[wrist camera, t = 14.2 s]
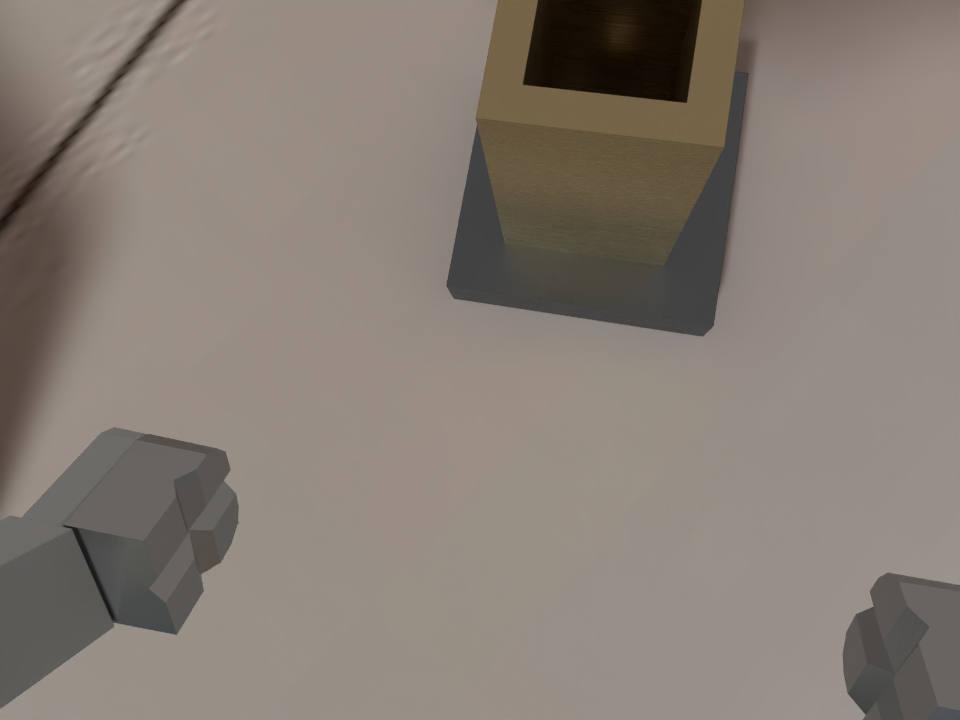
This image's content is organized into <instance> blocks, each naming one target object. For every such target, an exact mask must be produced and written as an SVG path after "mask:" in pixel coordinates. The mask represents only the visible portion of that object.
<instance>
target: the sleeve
mask: <svg viewBox="0 0 960 720" xmlns="http://www.w3.org/2000/svg"><path fill="white" fill-rule="evenodd" d="M744 1H745V0H498V4H497V9H496V14H495V19H494V25H493V30H492V35H491V41H490V46H489V51H488V56H487V62H486V67H485V72H484V77H483V83H482V88H481V93H480V98H479V104H478V109H477V114H476V121H477V125H478V129H479V134H480V138H481V143H482V147H483V151H484V156H485V160H486V164H487V169H488V173H489V177H490V182H491V186H492V190H493V195H494V199H495V203H496V208H497V212H498V216H499V221H500V225H501V229H502V234H503V238H504V242H505V244H510V245H517V246H524V247H531V248H539V249H546V250H553V251H560V252H567V253H574V254H581V255H588V256H595V257H603V258H610V259H617V260H624V261H631V262H638V263H645V264H652V265H660V266H664V264H665V262H666V260H667V258H668V256H669V254H670V252H671V251H672V249H673V247H674V245H675V243H676V241H677V239H678V237H679V235H680V233H681V231H682V229H683V227H684V225H685V223H686V221H687V219H688V217H689V215H690V213H691V211H692V209H693V207H694V205H695V203H696V201H697V199H698V197H699V195H700V194H701V192H702V190H703V188H704V186H705V184H706V182H707V180H708V178H709V176H710V174H711V172H712V170H713V168H714V166H715V164H716V162H717V160H718V158H719V156H720V154H721V152H722V150H723V148H724V144H725V137H726V130H727V123H728V116H729V108H730V101H731V94H732V87H733V80H734V73H735V66H736V58H737V51H738V44H739V37H740V30H741V23H742V16H743V8H744Z"/></svg>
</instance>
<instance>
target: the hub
mask: <svg viewBox="0 0 960 720" xmlns="http://www.w3.org/2000/svg"><path fill="white" fill-rule="evenodd" d="M747 80H748V73H744V72H735V73H734V80H733V87H732V94H731V101H730V108H729V116H728V123H727V130H726V137H725V144H724V148H723V150H722V152H721V154H720V156H719V158H718V160H717V162H716V164H715V166H714V168H713V170H712V172H711V174H710V176H709V178H708V180H707V182H706V184H705V186H704V188H703V190H702V192H701V194H700V195H699V197H698V199H697V201H696V203H695V205H694V207H693V209H692V211H691V213H690V215H689V217H688V219H687V221H686V223H685V225H684V227H683V229H682V231H681V233H680V235H679V237H678V239H677V241H676V243H675V245H674V247H673V249H672V251H671V252H670V254H669V256H668V258H667V260H666V262H665V264H664V266H660V265H652V264H645V263H638V262H631V261H624V260H617V259H610V258H603V257H595V256H588V255H581V254H574V253H567V252H560V251H553V250H546V249H539V248H531V247H524V246H517V245H510V244H505V242H504V238H503V234H502V229H501V225H500V221H499V216H498V212H497V208H496V203H495V199H494V195H493V190H492V186H491V182H490V177H489V173H488V169H487V164H486V160H485V156H484V151H483V147H482V143H481V138H480V134H479V129H478V125H477V128H476V133H475V139H474V144H473V149H472V154H471V160H470V165H469V170H468V175H467V181H466V186H465V191H464V196H463V202H462V207H461V212H460V217H459V223H458V228H457V233H456V238H455V244H454V249H453V254H452V259H451V265H450V270H449V275H448V280H447V288H448V289H449V291H450V293H451V295H452V296H453V298H454V299H461V300H467V301H474V302H481V303H487V304H494V305H500V306H507V307H513V308H520V309H526V310H533V311H539V312H546V313H552V314H559V315H566V316H572V317H579V318H585V319H592V320H598V321H605V322H611V323H618V324H624V325H631V326H638V327H644V328H651V329H657V330H664V331H670V332H677V333H683V334H690V335H696V336H704V335H705V334H706V333H707V332H708V331H709V330H710V329H711V328H712V327H713V326H714V319H715V312H716V305H717V297H718V290H719V283H720V276H721V268H722V261H723V254H724V247H725V239H726V232H727V225H728V218H729V211H730V203H731V196H732V189H733V182H734V174H735V167H736V160H737V153H738V145H739V138H740V131H741V124H742V117H743V109H744V102H745V95H746V88H747Z"/></svg>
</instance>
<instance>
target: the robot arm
mask: <svg viewBox="0 0 960 720" xmlns="http://www.w3.org/2000/svg"><path fill="white" fill-rule="evenodd" d="M230 470H231V469H230V466H229V462H228V458H227V455H226V452H225V451H222V450H220V449H217V448H212V447H207V446H203V445H198V444H193V443H189V442H184V441H179V440H175V439H170V438H165V437H161V436H156V435H152V434H145V433H140V432H135V431H130V430H125V429H121V428H116V427H113V428H111V429H109V430H107V431H104V432H102V433H101V434H100V435H99V436H98V437H97V438H96V439H95V440H94V441H93V442H92V443H91V444H90V445H89V446H88V447H87V448H86V449H85V451H84V452H83V453H82V454H81V455H80V456H79V457H78V458H77V459H76V460H75V461H74V462H73V463H72V464H71V465H70V467H69V468H68V469H67V470H66V471H65V472H64V473H63V474H62V475H61V476H60V477H59V478H58V479H57V480H56V481H55V483H54V484H53V485H52V486H51V487H50V488H49V489H48V490H47V491H46V492H45V493H44V494H43V495H42V496H41V497H40V499H39V500H38V501H37V502H36V503H35V504H34V505H33V506H32V507H31V508H30V509H29V510H28V511H27V512H26V513H25V515H24V516H23V517H22V518H20V517H14V516H9V517H7V518H5V519H3V520H0V709H1V708H2V707H4V706H5V705H6V704H8V703H9V702H10V701H12V700H13V699H15V698H16V697H17V696H19V695H20V694H22V693H23V692H24V691H26V690H27V689H29V688H30V687H31V686H33V685H34V684H35V683H37V682H38V681H40V680H41V679H42V678H44V677H45V676H47V675H48V674H49V673H51V672H52V671H53V670H55V669H56V668H58V667H59V666H60V665H62V664H63V663H65V662H66V661H67V660H69V659H70V658H71V657H73V656H74V655H76V654H77V653H78V652H80V651H81V650H83V649H84V648H85V647H87V646H88V645H90V644H91V643H92V642H94V641H95V640H96V639H98V638H99V637H101V636H102V635H103V634H105V633H106V632H108V631H109V630H110V629H112V628H113V627H114V624H113V623H118V624H124V625H129V626H134V627H139V628H144V629H149V630H154V631H160V632H165V633H170V634H175V635H177V634H178V632H179V630H180V629H181V627H182V625H183V624H184V622H185V621H186V619H187V617H188V616H189V614H190V612H191V611H192V609H193V607H194V606H195V604H196V603H197V601H198V599H199V598H200V596H201V594H202V593H203V591H204V589H203V583H202V576H201V574H202V573H204V572H206V571H207V570H209V569H211V568H212V567H214V566H216V565H217V564H219V563H221V561H222V559H223V558H224V556H225V554H226V552H227V551H228V549H229V547H230V545H231V543H232V540H233V537H234V534H235V530H236V527H237V524H238V509H239V506H238V501H237V496H236V493H235V492H234V491H233V490H232V489H231V488H230V487H229V486H228V485H227V484H226V483H225V482H224V479H225V478H226V476H227V475H228V473H229V472H230ZM870 594H871V598H872V602H873V606H874V607H872V608H870V609H867V610H865V611H863V612H860V613H858V614H856V615H855V617H854V619H853V621H852V623H851V624H850V626H849V628H848V630H847V632H846V638H845V644H844V649H843V669H844V677H845V682H846V687H847V692H848V694H849V695H850V697H851V698H852V699H853V700H854V701H855V703H856V704H857V705H858V706H859V707H860V709H861V710H862V711H863V712H864V713H865V717H864V719H863V720H960V585H956V584H950V583H944V582H939V581H933V580H927V579H922V578H916V577H910V576H904V575H899V574H893V573H886V574H884V575H883V576H881V577H879V578H878V579H877V581H876V582H875V584H874V586H873V587H872V589H871V590H870Z"/></svg>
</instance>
